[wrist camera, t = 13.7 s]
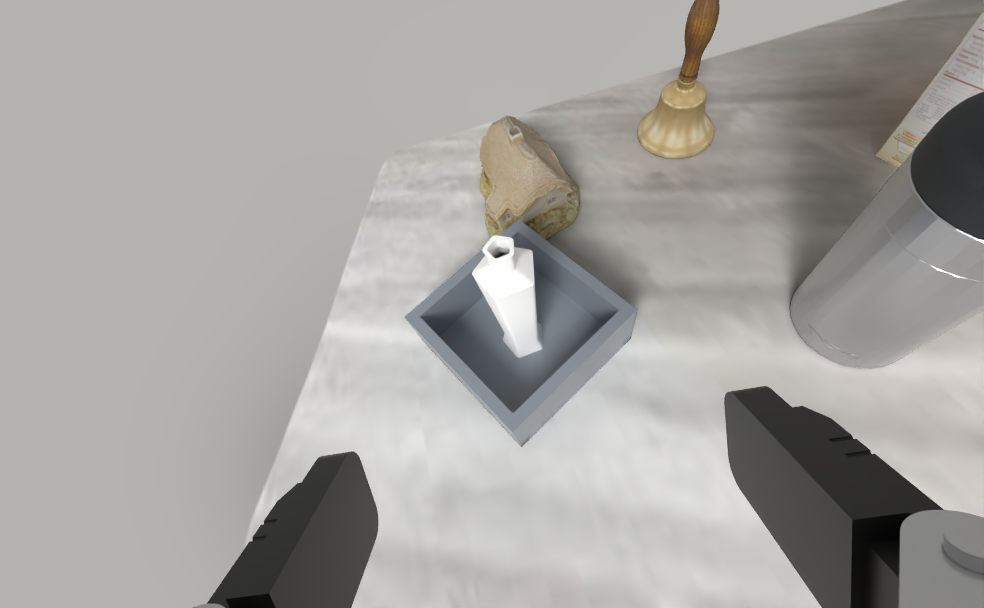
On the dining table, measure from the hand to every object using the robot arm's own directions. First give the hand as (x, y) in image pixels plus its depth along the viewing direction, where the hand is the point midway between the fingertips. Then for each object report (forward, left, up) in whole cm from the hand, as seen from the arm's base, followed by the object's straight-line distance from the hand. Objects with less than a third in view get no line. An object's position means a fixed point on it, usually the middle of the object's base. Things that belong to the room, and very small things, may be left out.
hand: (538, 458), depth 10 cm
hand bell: (-38, -20, -31) cm, 53 cm away
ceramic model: (-20, -26, -31) cm, 45 cm away
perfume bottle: (-8, -14, -29) cm, 34 cm away
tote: (-8, -14, -30) cm, 34 cm away
